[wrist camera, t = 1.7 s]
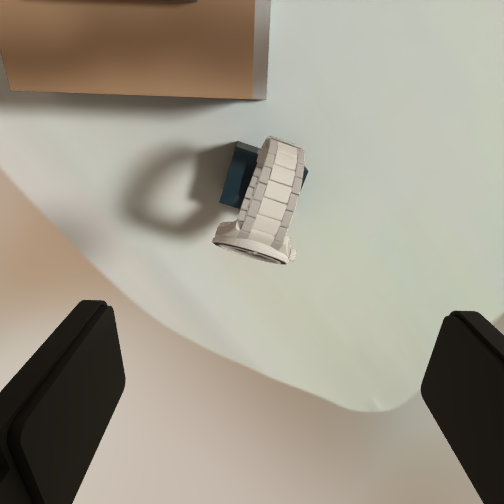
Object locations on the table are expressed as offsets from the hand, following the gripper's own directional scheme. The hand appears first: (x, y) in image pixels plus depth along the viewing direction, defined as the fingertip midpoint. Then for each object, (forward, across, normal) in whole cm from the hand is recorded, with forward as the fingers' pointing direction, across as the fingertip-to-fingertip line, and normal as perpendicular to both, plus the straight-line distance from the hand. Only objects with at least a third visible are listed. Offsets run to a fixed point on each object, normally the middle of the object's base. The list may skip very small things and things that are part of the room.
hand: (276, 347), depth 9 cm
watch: (+20, 0, -1) cm, 20 cm away
